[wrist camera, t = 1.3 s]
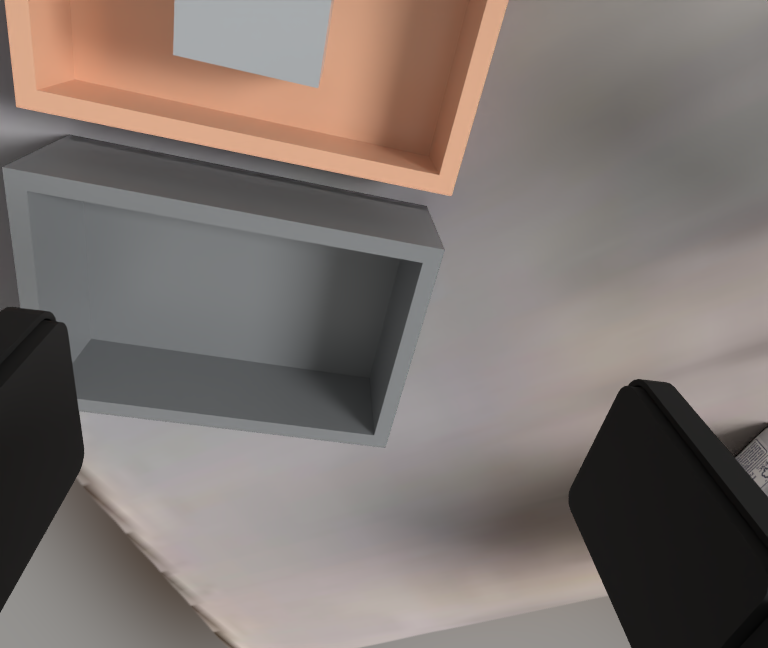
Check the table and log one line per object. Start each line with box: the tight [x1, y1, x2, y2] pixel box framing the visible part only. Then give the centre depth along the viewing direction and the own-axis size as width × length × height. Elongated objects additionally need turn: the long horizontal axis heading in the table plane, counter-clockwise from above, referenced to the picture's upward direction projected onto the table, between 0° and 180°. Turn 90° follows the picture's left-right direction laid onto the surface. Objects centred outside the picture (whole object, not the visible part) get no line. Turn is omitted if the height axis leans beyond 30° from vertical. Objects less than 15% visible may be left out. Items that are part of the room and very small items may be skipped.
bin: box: [2, 135, 445, 448], centre depth 28 cm, size 12×18×6 cm, turn 78°
